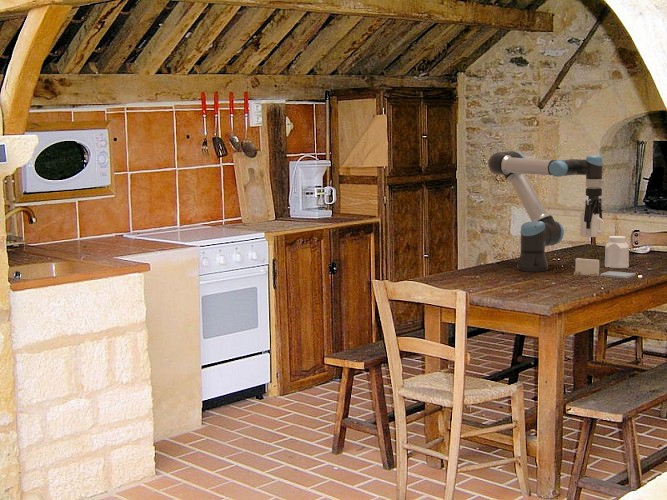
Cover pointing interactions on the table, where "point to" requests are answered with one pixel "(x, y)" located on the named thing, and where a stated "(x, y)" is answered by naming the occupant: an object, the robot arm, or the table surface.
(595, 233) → the mug
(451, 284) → the table surface
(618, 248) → the jar
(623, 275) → the plate
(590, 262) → the beige block
